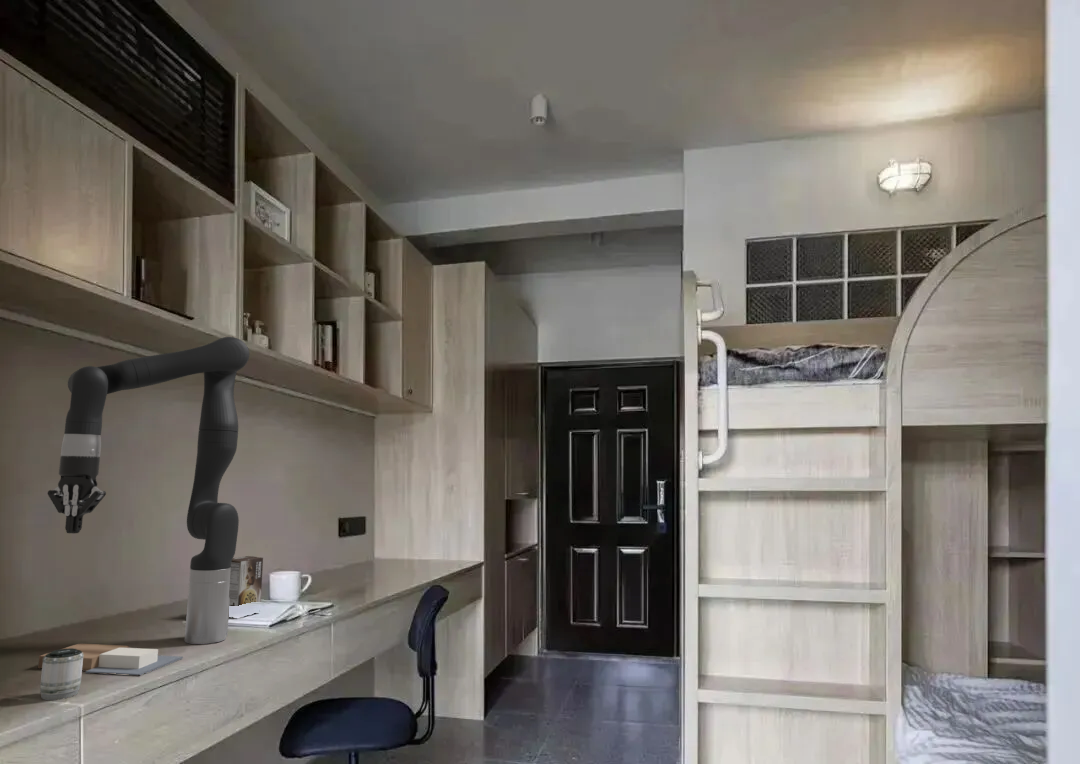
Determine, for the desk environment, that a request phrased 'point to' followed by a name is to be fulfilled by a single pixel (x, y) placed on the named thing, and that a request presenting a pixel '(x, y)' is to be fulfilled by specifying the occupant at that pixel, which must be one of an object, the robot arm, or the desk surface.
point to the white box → (128, 658)
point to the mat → (160, 662)
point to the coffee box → (245, 580)
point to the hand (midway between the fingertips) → (72, 533)
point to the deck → (88, 654)
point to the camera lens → (61, 674)
